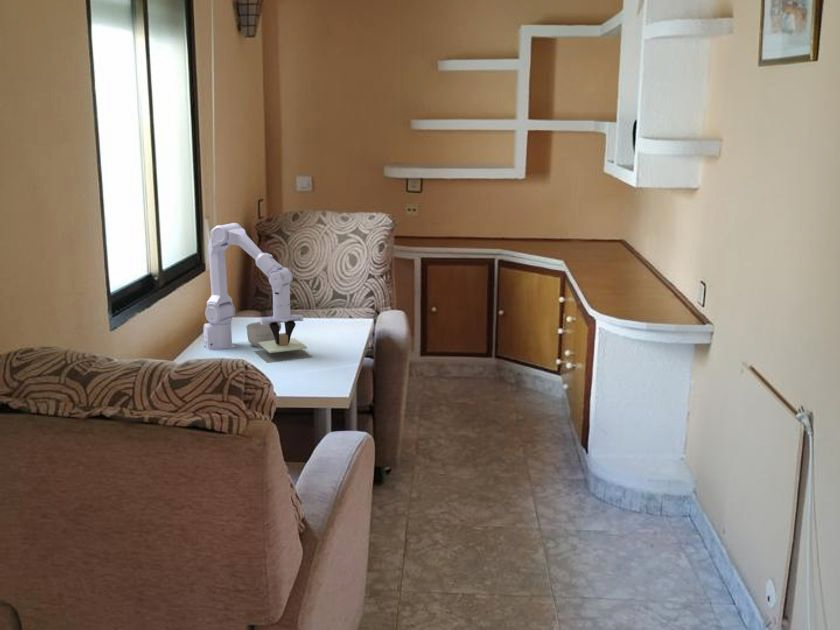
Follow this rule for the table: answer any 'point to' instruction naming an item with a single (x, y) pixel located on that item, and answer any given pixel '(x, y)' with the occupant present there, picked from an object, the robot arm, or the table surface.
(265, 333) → the teacup
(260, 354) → the mat
